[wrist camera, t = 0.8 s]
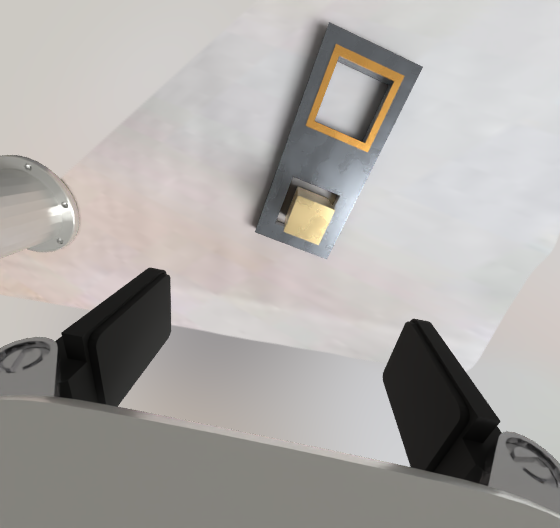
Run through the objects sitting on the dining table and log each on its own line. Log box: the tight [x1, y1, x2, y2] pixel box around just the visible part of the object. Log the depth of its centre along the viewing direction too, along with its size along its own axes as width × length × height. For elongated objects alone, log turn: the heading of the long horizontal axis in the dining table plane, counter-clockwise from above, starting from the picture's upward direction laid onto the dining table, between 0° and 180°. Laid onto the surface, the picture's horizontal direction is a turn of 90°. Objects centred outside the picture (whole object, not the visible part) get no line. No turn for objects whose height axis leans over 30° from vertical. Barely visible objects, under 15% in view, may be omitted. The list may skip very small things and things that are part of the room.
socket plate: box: [255, 22, 423, 259], centre depth 30 cm, size 22×10×2 cm, turn 159°
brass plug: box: [284, 187, 335, 245], centre depth 30 cm, size 4×4×7 cm
